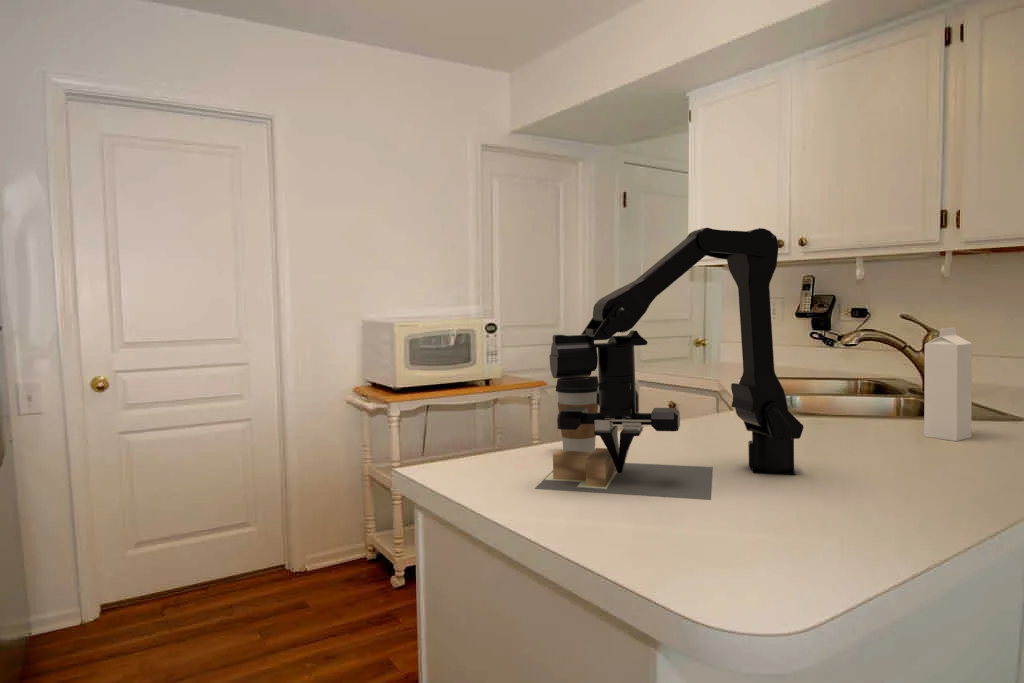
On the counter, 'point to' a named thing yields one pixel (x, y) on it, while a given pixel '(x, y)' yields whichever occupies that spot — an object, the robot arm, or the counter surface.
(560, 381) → the coffee cup
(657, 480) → the mat
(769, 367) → the robot arm
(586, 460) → the t block
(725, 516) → the counter surface
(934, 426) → the milk
